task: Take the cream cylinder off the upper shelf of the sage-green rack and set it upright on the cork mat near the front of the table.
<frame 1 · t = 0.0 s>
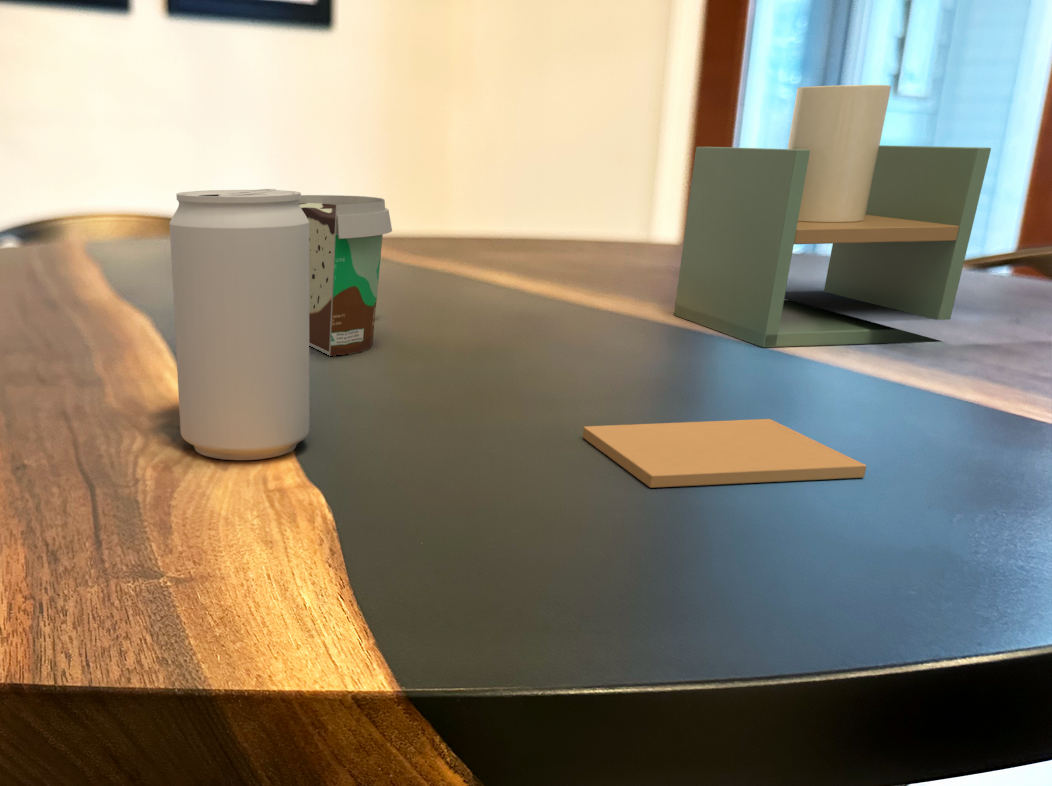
mat: (714, 456, 48), on the table
cream cylinder: (819, 219, 76), point 8 cm above the table, touching rack
rack: (799, 327, 79), on the table
food container: (343, 344, 75), on the table
beverage can: (246, 449, 51), on the table
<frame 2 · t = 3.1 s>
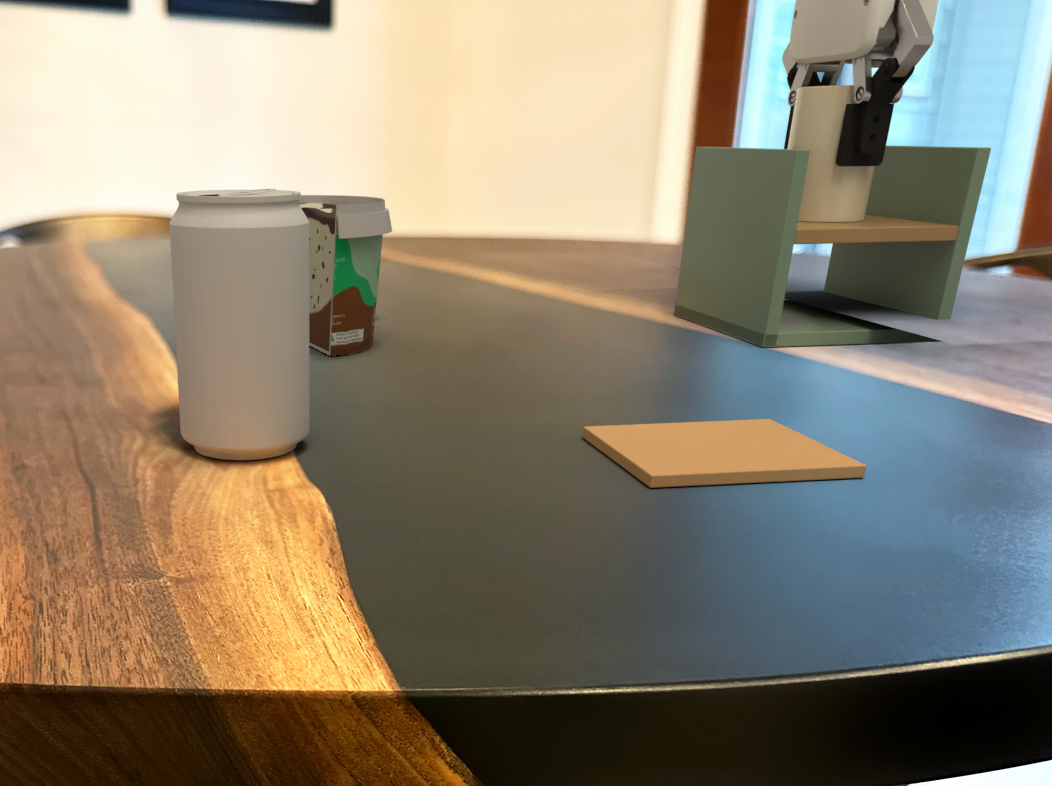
hand: (829, 162, 74), 12 cm above the table, tool pointing down, fingers closed on cream cylinder, 6 cm apart
cream cylinder: (819, 219, 76), point 8 cm above the table, touching gripper, rack
everything else where it was.
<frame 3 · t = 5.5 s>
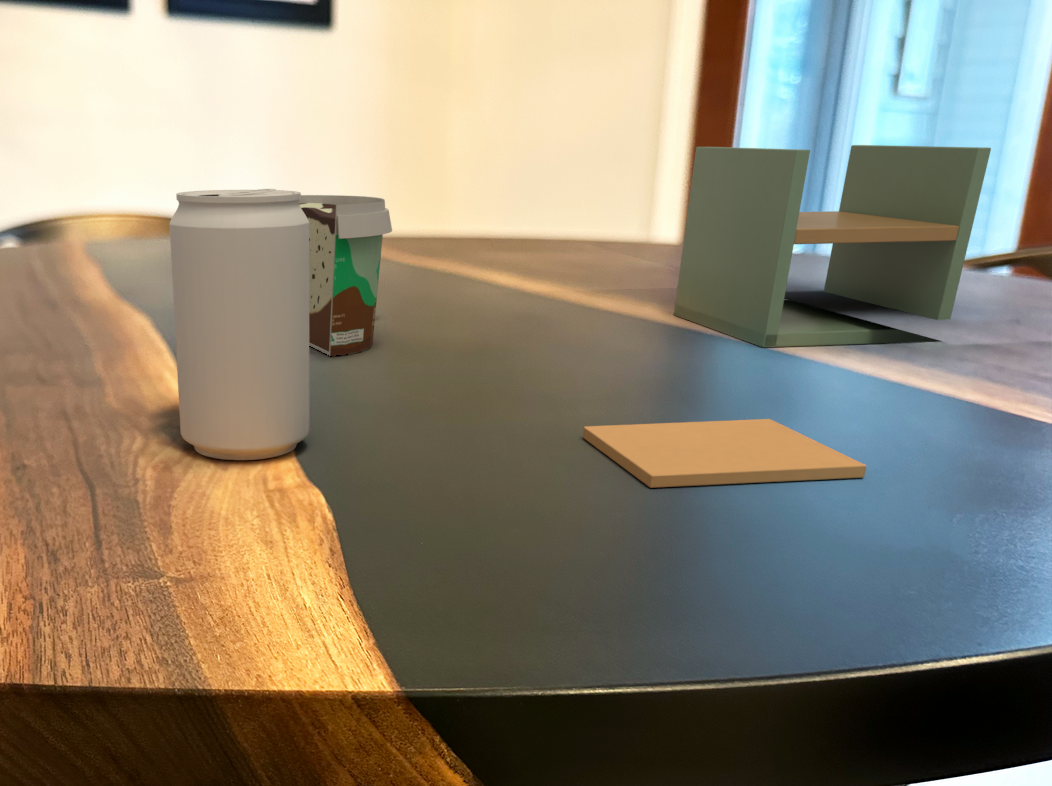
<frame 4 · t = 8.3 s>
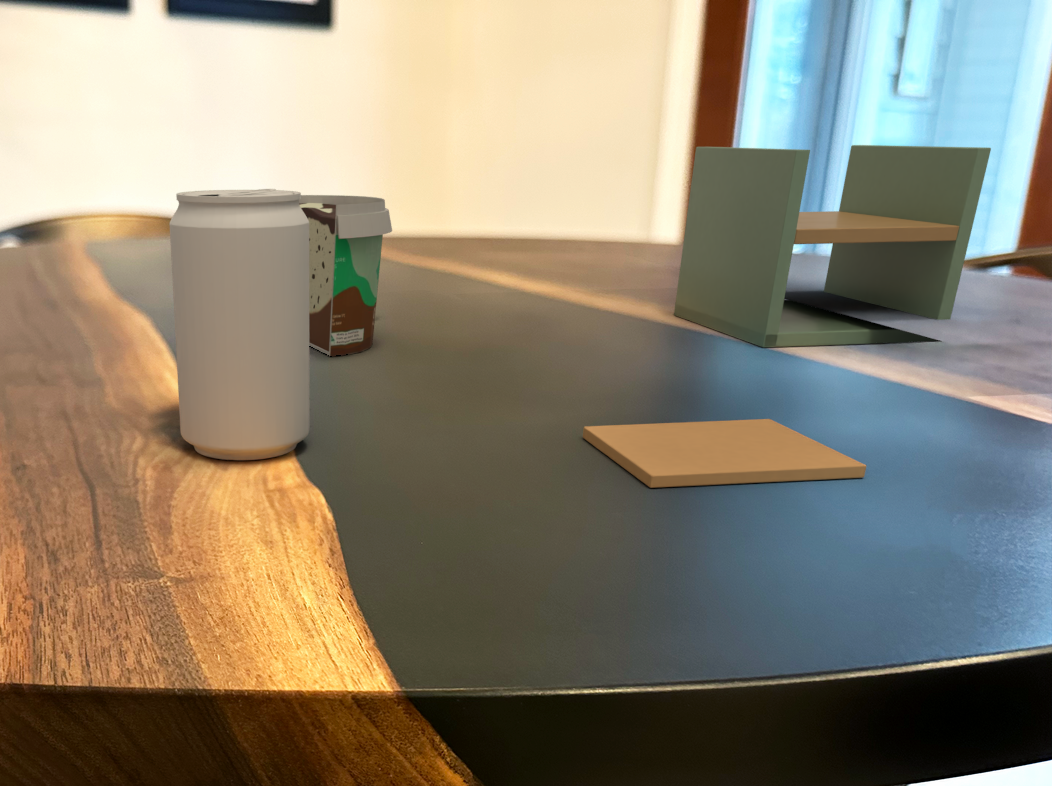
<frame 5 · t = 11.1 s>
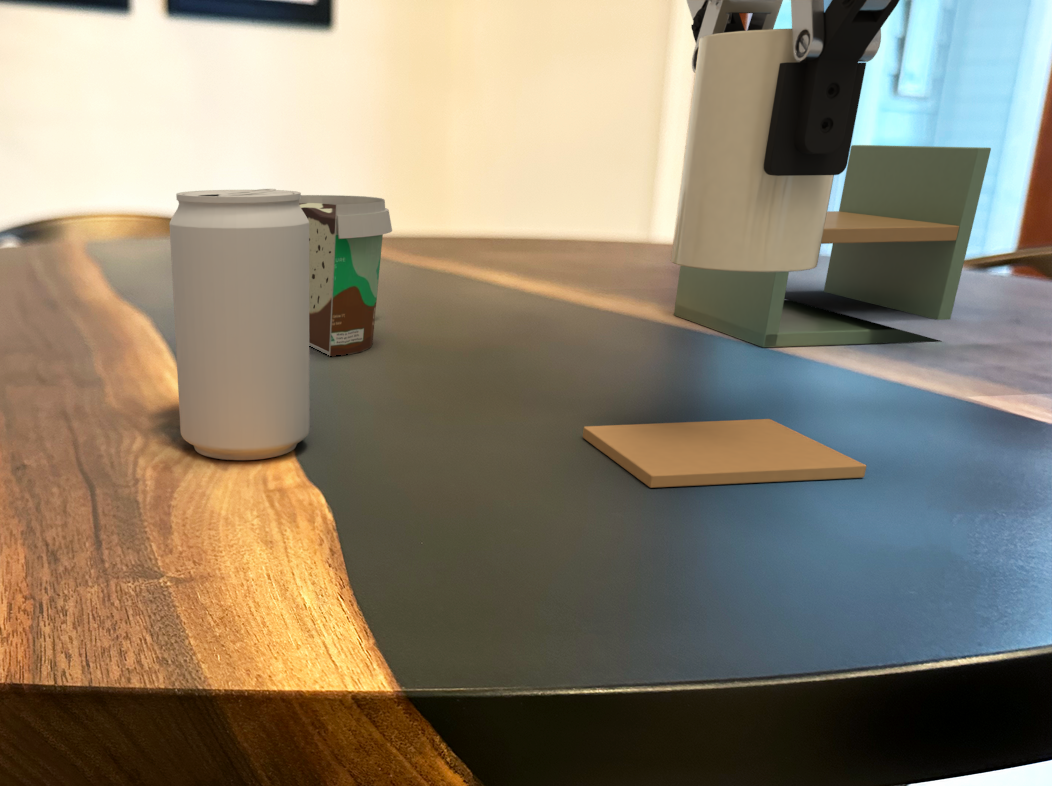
hand: (758, 167, 43), 13 cm above the table, tool pointing down, fingers closed on cream cylinder, 6 cm apart
cream cylinder: (741, 263, 45), point 9 cm above the table, touching gripper
everything else where it was.
when the fingers open (5 cm above the table, at t = 13.5 s): cream cylinder stays where it is, resting on mat.
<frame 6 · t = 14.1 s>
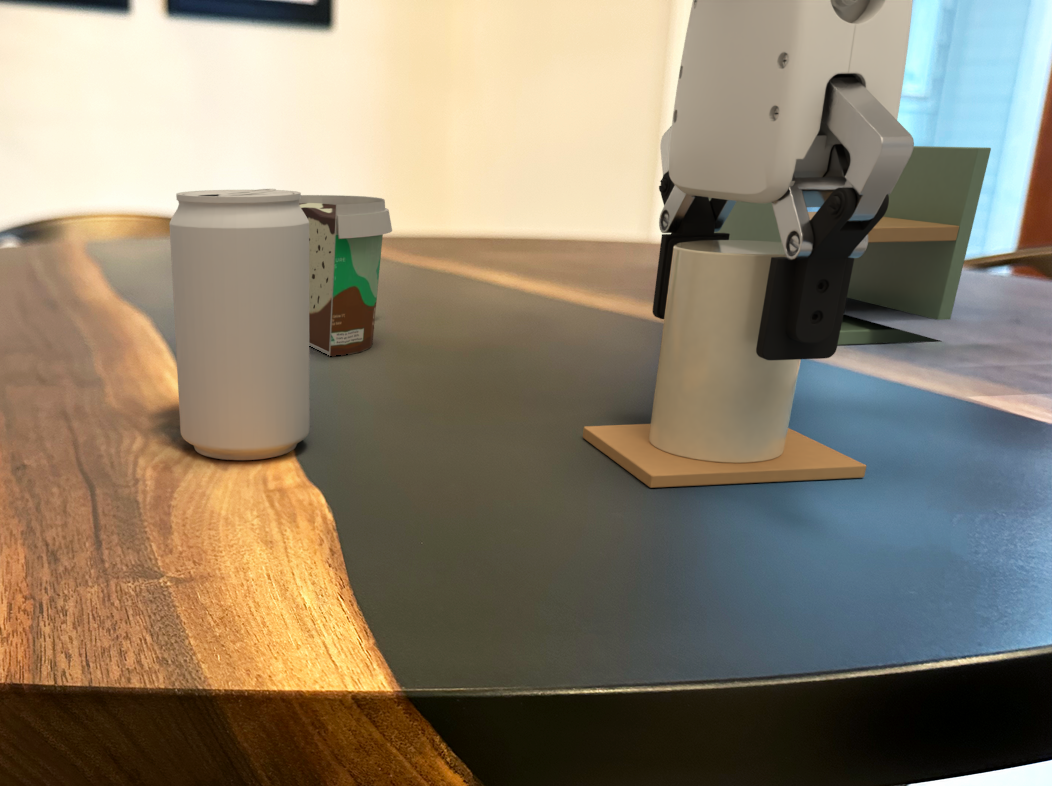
hand: (734, 335, 46), 6 cm above the table, tool pointing down, fingers open, 9 cm apart
cream cylinder: (714, 444, 48), point 1 cm above the table, touching mat
everything else where it was.
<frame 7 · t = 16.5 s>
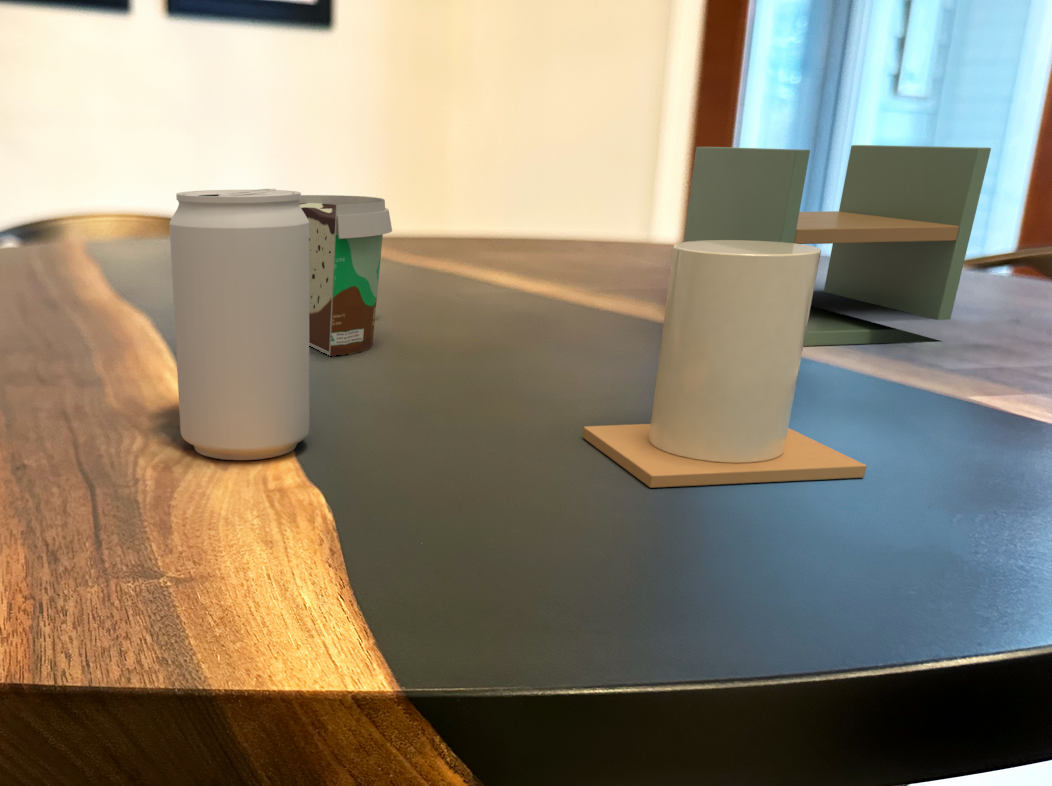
nothing on the table moved.
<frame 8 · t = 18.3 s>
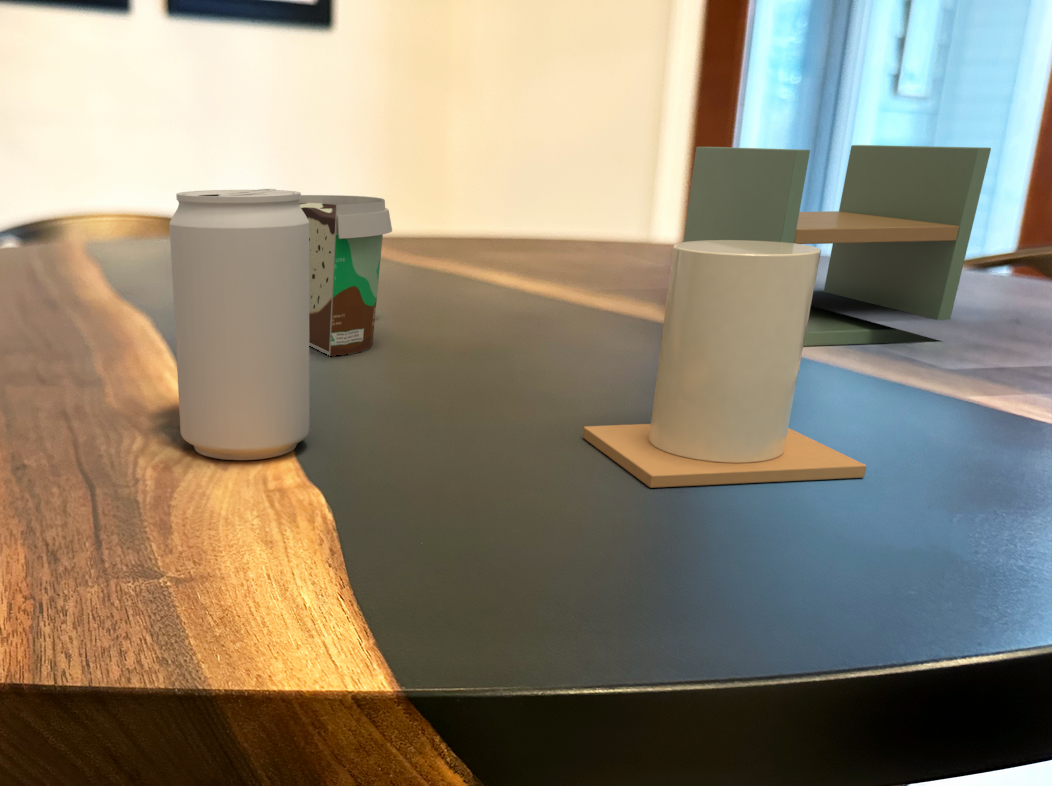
nothing on the table moved.
at the end: cream cylinder inside the target area on the mat (0.1 cm from its centre), point 0.6 cm above the mat's base; cream cylinder tilted 0° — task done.
